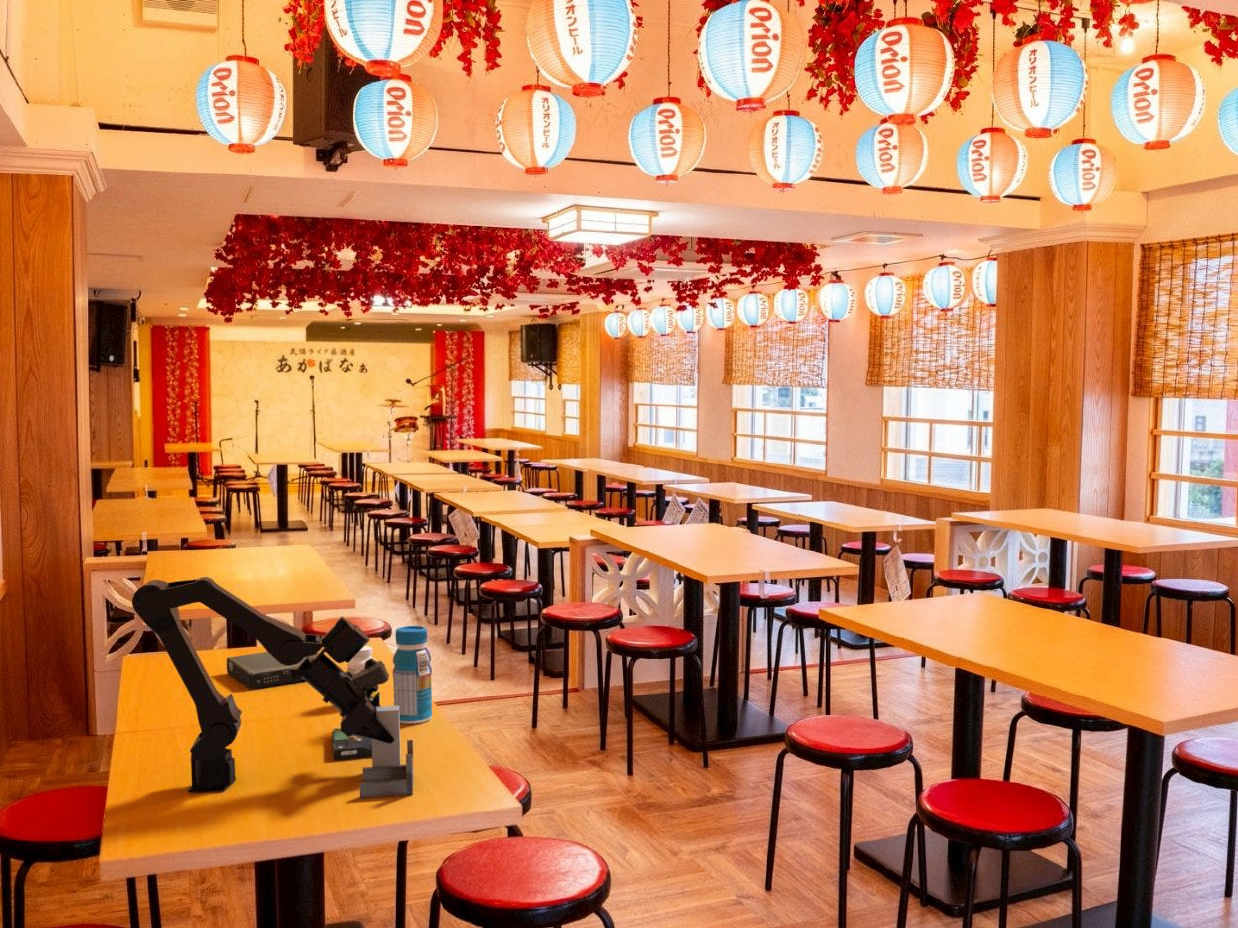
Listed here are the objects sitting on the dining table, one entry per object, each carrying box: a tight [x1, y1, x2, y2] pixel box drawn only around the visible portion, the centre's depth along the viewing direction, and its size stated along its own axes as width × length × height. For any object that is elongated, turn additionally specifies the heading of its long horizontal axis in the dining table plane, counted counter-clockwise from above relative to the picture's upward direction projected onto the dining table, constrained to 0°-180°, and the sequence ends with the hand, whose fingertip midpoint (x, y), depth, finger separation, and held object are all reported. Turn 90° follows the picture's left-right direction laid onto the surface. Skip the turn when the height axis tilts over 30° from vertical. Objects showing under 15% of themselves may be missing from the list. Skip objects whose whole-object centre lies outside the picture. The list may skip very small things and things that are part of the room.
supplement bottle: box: [346, 645, 379, 697], centre depth 244 cm, size 7×7×13 cm
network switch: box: [226, 651, 319, 691], centre depth 272 cm, size 23×23×5 cm
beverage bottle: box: [392, 625, 433, 725], centre depth 231 cm, size 8×8×20 cm
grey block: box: [371, 705, 402, 767], centre depth 197 cm, size 5×5×12 cm
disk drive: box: [331, 727, 372, 762], centre depth 213 cm, size 10×3×15 cm
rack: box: [358, 739, 415, 799], centre depth 189 cm, size 9×9×7 cm
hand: (393, 736), depth 197 cm, fingers open, 6 cm apart
